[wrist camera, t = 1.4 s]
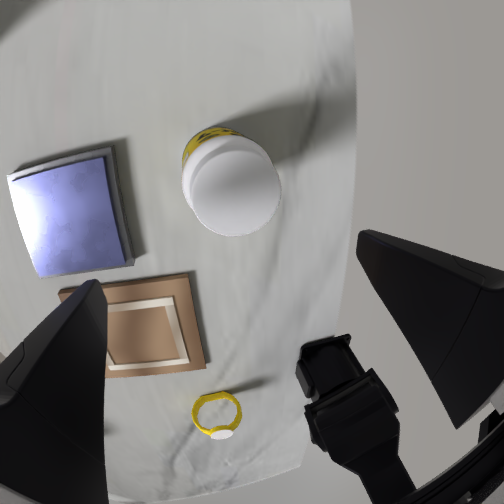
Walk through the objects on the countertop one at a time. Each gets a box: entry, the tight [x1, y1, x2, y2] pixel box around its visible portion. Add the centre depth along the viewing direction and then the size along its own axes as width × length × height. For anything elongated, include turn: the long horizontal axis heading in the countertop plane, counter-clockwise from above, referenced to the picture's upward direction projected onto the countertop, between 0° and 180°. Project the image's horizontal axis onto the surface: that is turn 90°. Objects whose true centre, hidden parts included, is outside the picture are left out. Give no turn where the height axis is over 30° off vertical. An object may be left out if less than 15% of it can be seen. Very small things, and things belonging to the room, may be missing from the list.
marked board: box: [58, 274, 206, 378], centre depth 25 cm, size 12×12×1 cm
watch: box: [191, 391, 242, 439], centre depth 30 cm, size 6×3×6 cm, turn 98°
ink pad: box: [7, 145, 135, 279], centre depth 18 cm, size 9×9×2 cm
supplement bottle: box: [182, 127, 281, 236], centre depth 16 cm, size 5×5×8 cm
